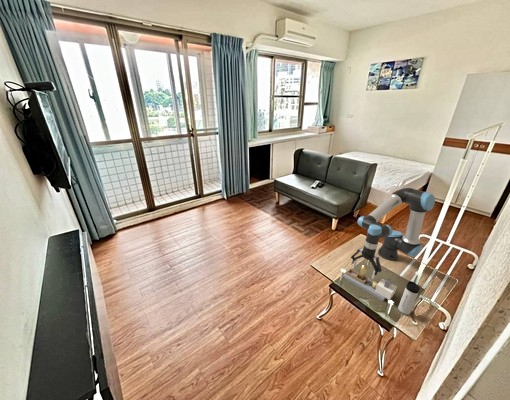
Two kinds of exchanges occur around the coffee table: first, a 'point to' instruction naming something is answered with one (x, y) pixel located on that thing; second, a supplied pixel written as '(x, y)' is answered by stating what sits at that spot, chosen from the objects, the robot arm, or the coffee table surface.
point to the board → (363, 283)
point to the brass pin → (363, 272)
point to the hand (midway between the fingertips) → (362, 272)
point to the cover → (386, 288)
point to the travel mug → (408, 298)
